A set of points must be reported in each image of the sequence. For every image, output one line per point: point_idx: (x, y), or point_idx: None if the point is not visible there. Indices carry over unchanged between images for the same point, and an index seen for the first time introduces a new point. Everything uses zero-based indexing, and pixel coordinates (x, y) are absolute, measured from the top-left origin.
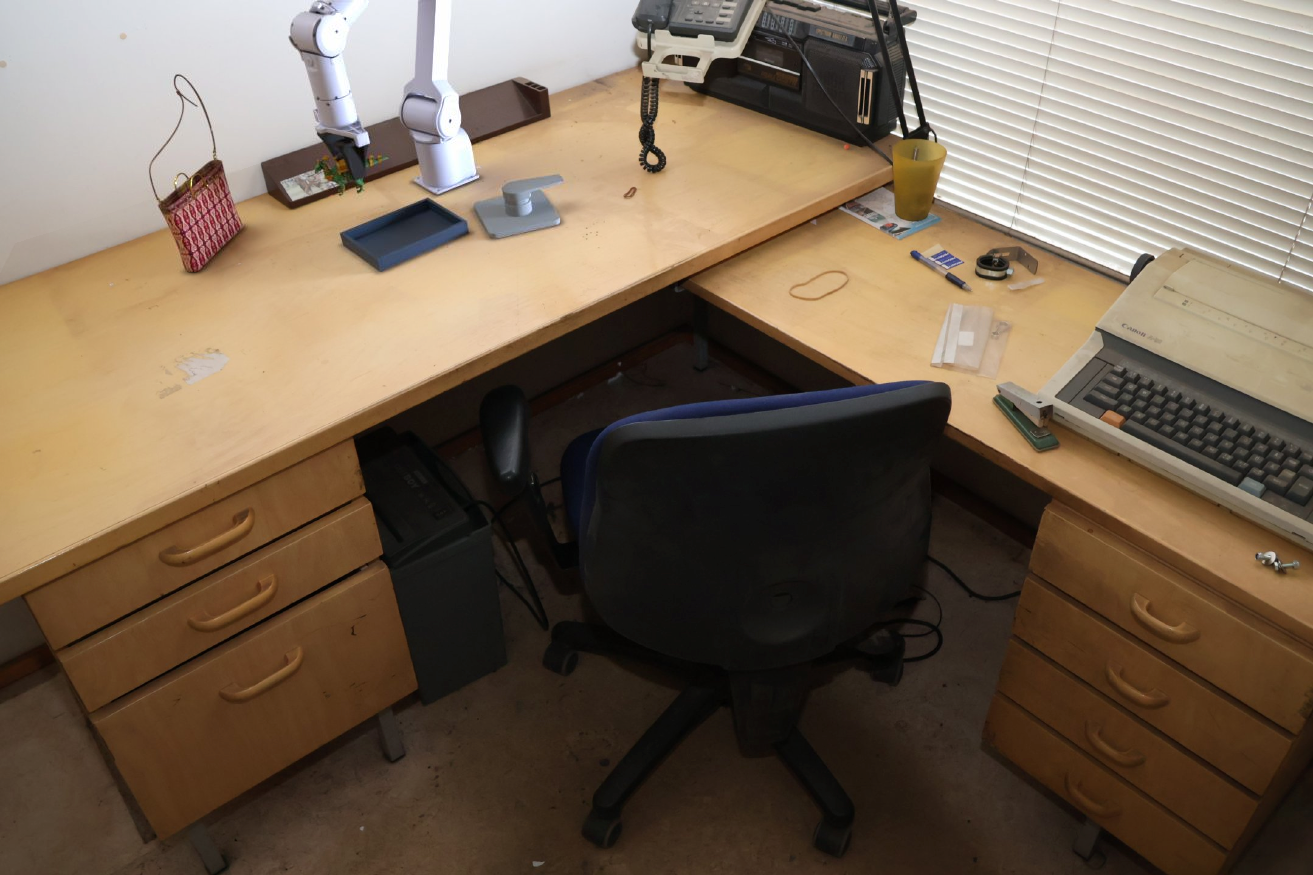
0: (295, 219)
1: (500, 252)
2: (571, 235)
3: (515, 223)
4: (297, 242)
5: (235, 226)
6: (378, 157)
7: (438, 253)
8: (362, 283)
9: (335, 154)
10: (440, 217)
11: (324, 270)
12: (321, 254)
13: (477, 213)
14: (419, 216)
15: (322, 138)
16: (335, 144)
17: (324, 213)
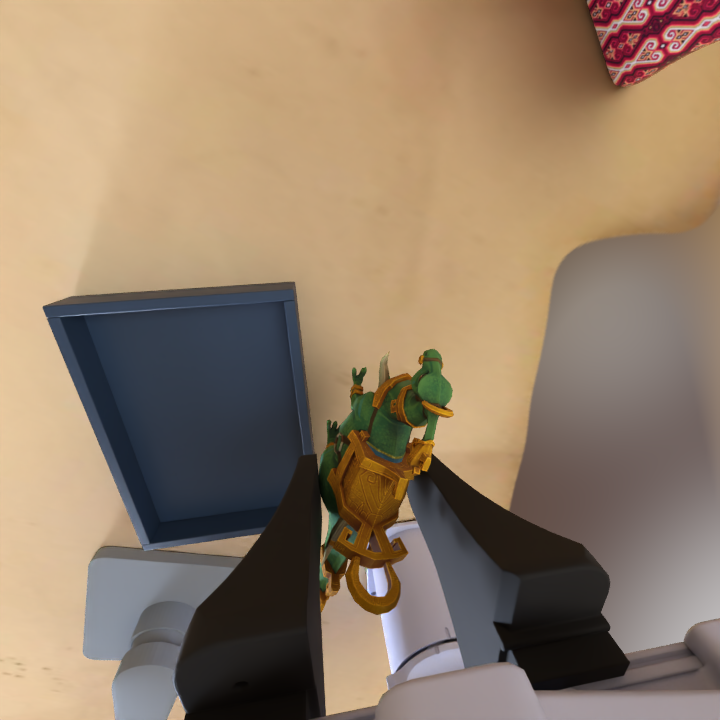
0: (524, 243)
1: (25, 542)
2: (30, 646)
3: (113, 602)
4: (404, 183)
5: (620, 37)
6: (320, 599)
7: (97, 446)
8: (23, 224)
9: (440, 499)
10: (255, 506)
11: (178, 166)
12: (285, 207)
13: (217, 563)
14: (292, 476)
15: (512, 560)
16: (261, 631)
17: (489, 317)
